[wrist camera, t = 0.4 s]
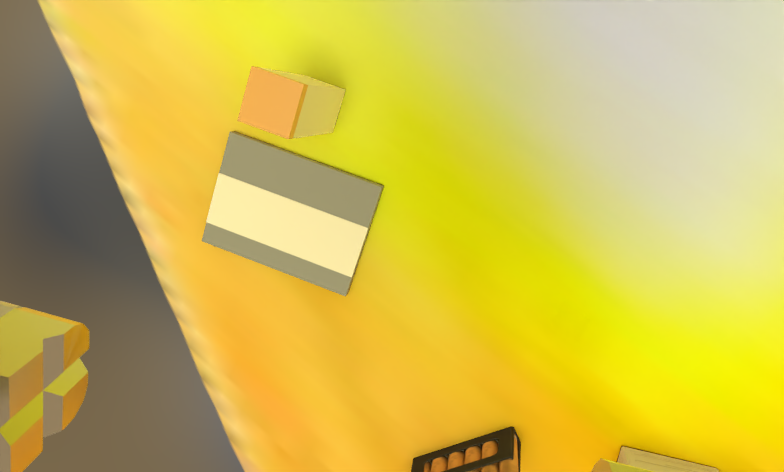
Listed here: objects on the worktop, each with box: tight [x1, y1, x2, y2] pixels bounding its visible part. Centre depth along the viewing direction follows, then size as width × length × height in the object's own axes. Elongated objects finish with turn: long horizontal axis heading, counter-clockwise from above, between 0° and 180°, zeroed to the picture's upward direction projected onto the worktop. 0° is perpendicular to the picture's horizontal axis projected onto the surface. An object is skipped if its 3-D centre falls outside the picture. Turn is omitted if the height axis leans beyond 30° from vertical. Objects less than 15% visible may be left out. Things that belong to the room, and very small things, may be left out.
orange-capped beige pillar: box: [238, 66, 346, 139], centre depth 48 cm, size 4×4×12 cm
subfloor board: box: [202, 131, 384, 296], centre depth 56 cm, size 11×15×1 cm
